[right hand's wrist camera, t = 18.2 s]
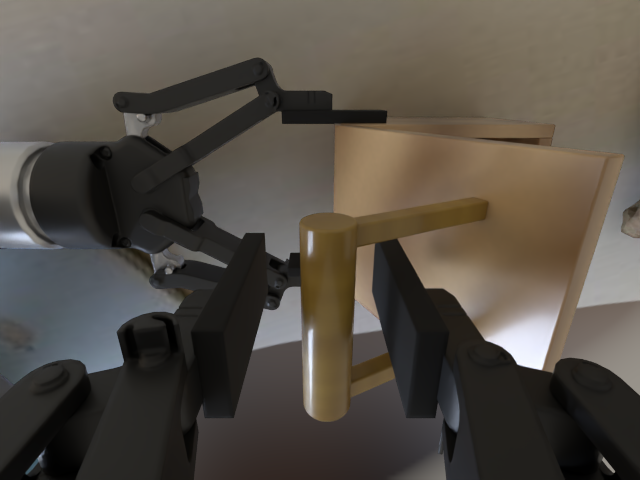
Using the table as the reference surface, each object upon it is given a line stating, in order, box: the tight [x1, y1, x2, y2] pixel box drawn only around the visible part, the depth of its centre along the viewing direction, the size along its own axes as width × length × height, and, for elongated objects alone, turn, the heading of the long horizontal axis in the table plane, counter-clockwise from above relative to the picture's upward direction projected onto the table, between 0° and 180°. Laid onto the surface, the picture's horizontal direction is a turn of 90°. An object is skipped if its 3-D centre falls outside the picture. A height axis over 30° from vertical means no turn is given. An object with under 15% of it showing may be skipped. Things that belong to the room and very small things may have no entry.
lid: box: [299, 125, 624, 422], centre depth 15 cm, size 14×10×8 cm
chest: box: [333, 117, 555, 213], centre depth 27 cm, size 13×10×10 cm
